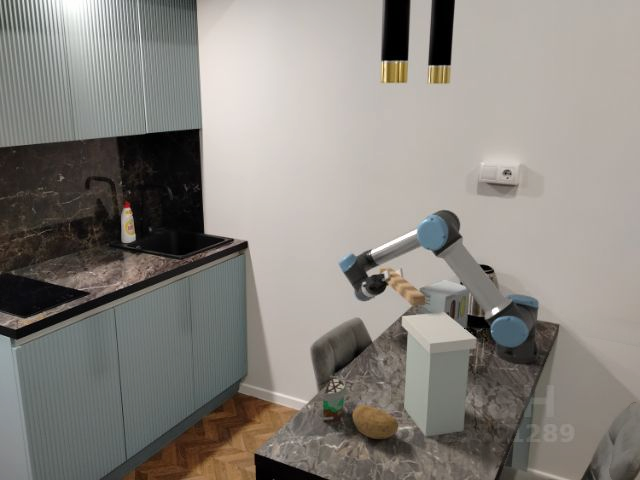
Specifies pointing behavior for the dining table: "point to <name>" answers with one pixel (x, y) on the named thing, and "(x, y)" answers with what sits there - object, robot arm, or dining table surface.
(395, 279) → the oak slat
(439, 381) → the box
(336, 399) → the food container
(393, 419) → the potato
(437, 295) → the supplement box
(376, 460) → the dining table surface
